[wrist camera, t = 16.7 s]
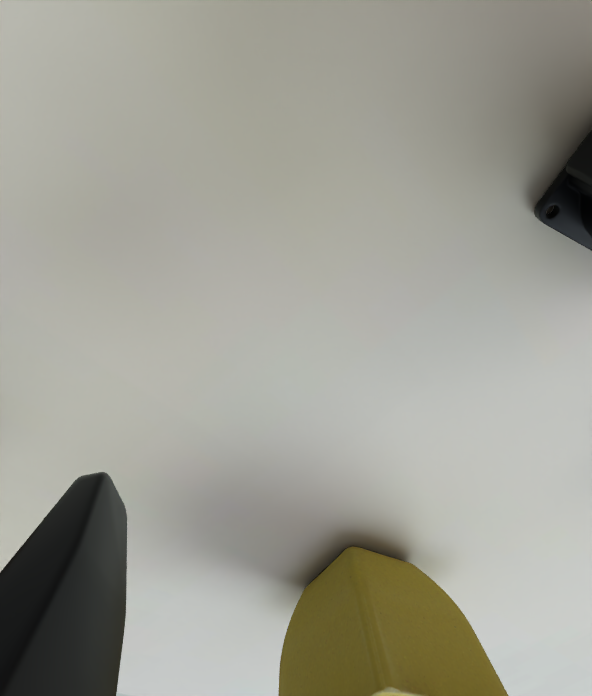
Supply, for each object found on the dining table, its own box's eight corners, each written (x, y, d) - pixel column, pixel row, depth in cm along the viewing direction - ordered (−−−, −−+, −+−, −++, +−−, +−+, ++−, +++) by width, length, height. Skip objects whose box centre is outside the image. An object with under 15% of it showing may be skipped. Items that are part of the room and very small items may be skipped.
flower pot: (369, 625, 37) (408, 786, 30) (259, 599, 34) (273, 774, 26) (455, 552, 34) (523, 715, 26) (341, 513, 30) (383, 689, 23)
